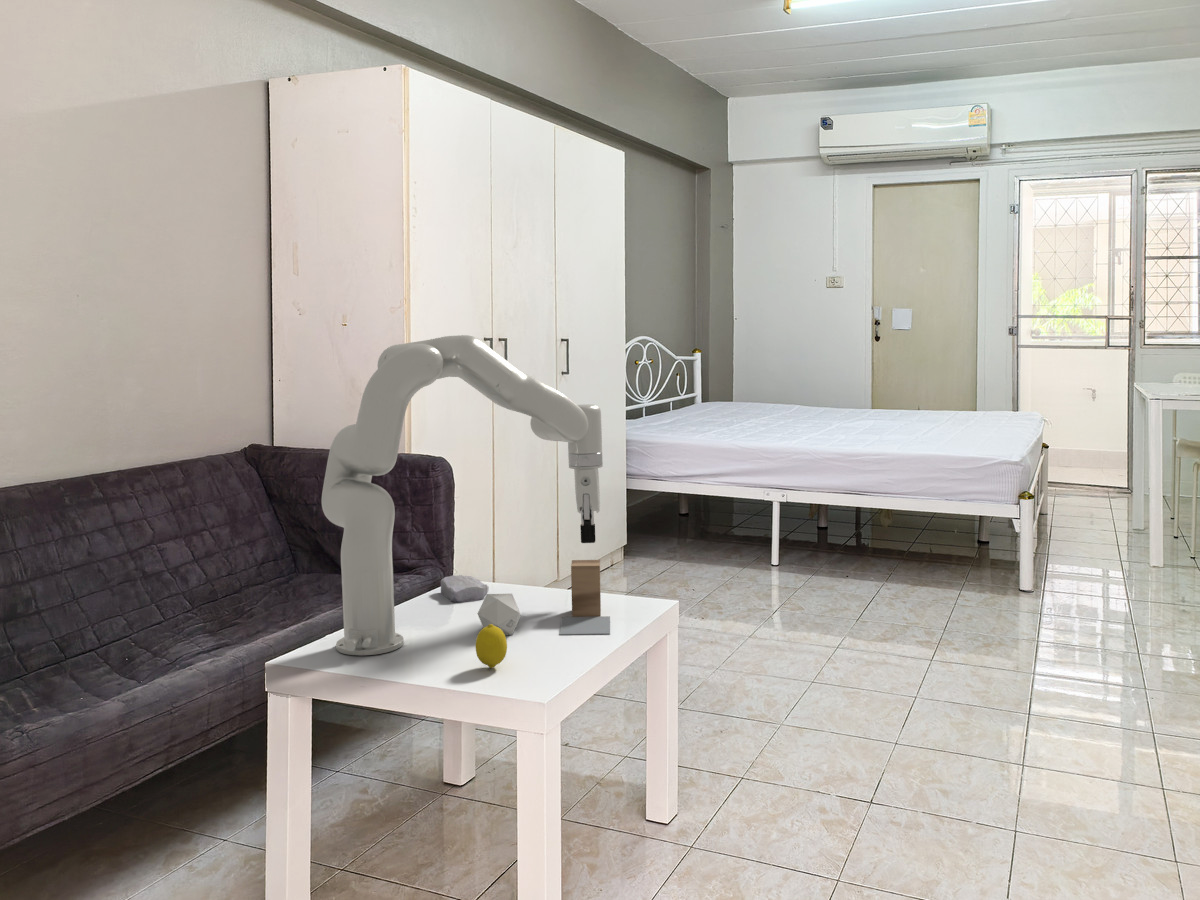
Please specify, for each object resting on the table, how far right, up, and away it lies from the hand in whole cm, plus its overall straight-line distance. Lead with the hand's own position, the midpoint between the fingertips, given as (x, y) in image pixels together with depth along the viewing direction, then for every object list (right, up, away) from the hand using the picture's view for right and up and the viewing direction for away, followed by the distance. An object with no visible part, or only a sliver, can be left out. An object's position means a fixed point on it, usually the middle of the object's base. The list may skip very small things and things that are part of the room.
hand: (588, 542), depth 217 cm
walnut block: (0, -14, -9) cm, 17 cm away
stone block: (-28, -14, +9) cm, 33 cm away
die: (-17, -16, -23) cm, 33 cm away
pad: (0, -15, -19) cm, 24 cm away
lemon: (-17, -18, -45) cm, 51 cm away
